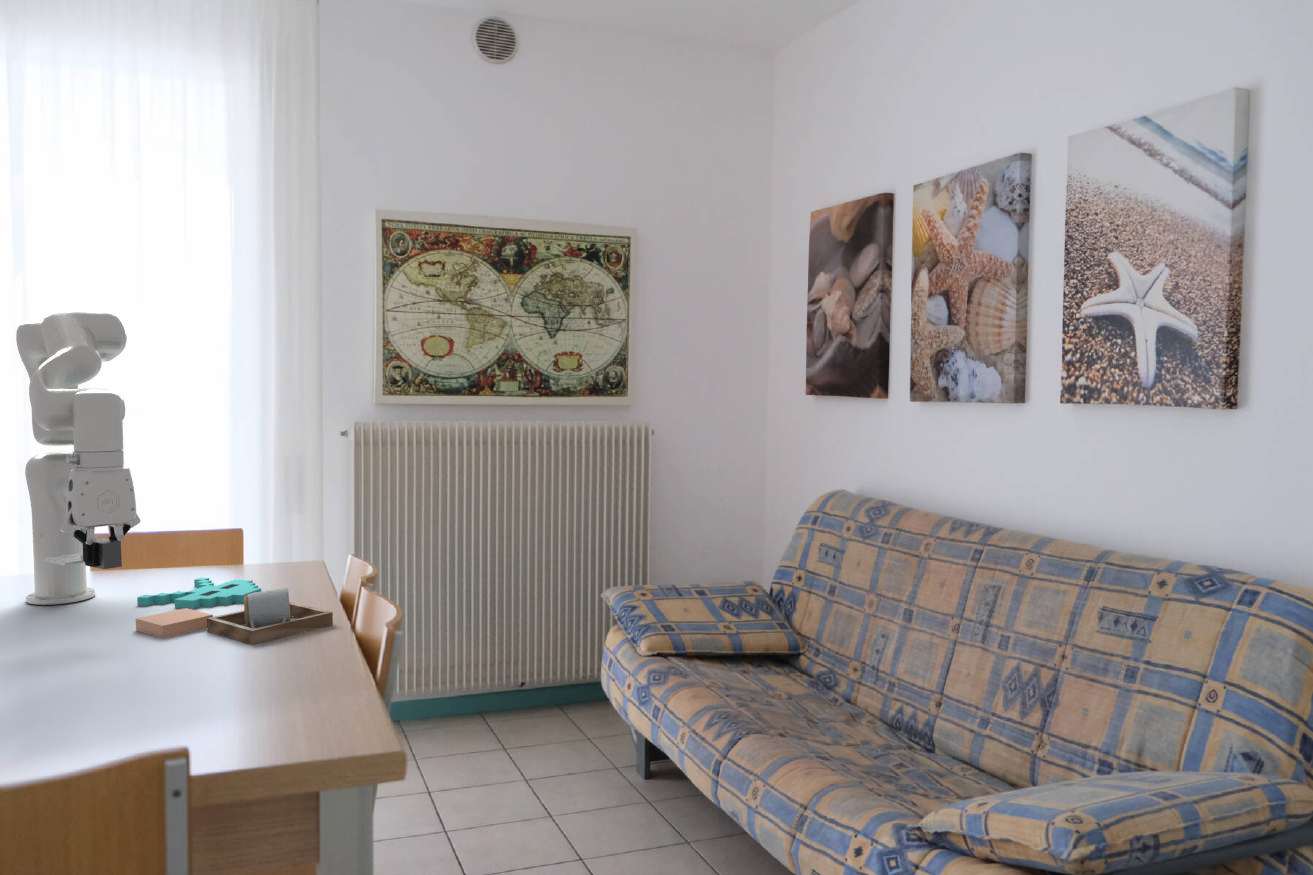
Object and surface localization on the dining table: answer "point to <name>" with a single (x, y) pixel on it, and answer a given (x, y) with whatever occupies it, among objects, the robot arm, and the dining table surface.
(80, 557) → the dark grey pieces
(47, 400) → the robot arm
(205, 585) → the alien figure
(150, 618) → the block
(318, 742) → the dining table surface
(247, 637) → the wooden tray
